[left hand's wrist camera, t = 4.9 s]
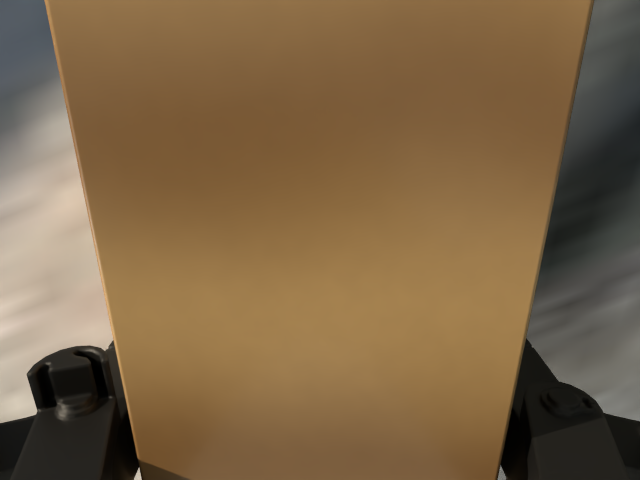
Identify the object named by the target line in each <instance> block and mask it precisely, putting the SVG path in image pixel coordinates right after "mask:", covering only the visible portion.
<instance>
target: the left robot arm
mask: <svg viewBox="0 0 640 480" xmlns="http://www.w3.org/2000/svg"><path fill="white" fill-rule="evenodd" d="M27 377H28V380H29V384H30V387H31V391H32V394H33V397H34V401H35V404H36V407H37V414H36V415H34V416H30V417H27V418H22V419H18V420H13V421H9V422H4V423H0V480H134V477H135V475H136V473H137V470H138V468H139V463H138V458H137V453H136V448H135V443H134V438H133V433H132V428H131V423H130V418H129V413H128V408H127V403H126V399H125V394H124V389H123V384H122V379H121V374H120V369H119V364H118V359H117V354H116V349H115V344H114V340H113V341H112V343H111V344H110V345H109V348H108V349H106V351H104V350H103V349H101V348H98V347H94V346H75V347H71V348H67V349H63V350H60V351H57V352H55V353H53V354H51V355H48V356H46V357H45V358H43V359H42V360H40V361H39V362H37V363H36V364H34V365H33V367H32V368H31V369H30V370H29V372H28V373H27ZM501 467H502V469H503V471H504V473H505V475H506V480H640V421H635V420H631V419H626V418H622V417H617V416H613V415H609V414H606V413H603V411H602V409H601V408H600V406H599V405H598V403H597V402H596V401H595V400H594V399H593V398H592V397H590V396H589V395H588V394H587V393H585V392H584V391H582V390H580V389H578V388H576V387H574V386H572V385H570V384H566V383H562V382H559V381H558V380H557V379H556V377H555V376H554V375H553V373H552V372H551V371H550V369H549V368H548V367H547V365H546V364H545V363H544V361H543V360H542V359H541V357H540V356H539V354H538V353H537V352H536V350H535V349H534V348H532V347H531V344H530V342H529V341H528V340H527V338H526V340H525V345H524V350H523V355H522V360H521V365H520V370H519V375H518V380H517V385H516V390H515V395H514V400H513V405H512V410H511V415H510V420H509V425H508V429H507V434H506V439H505V444H504V449H503V454H502V459H501Z"/></svg>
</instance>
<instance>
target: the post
mask: <svg viewBox="0 0 640 480" xmlns="http://www.w3.org/2000/svg"><path fill="white" fill-rule="evenodd" d="M45 4H46V9H47V14H48V19H49V24H50V29H51V34H52V39H53V44H54V49H55V54H56V59H57V63H58V68H59V73H60V78H61V83H62V88H63V93H64V98H65V103H66V108H67V113H68V118H69V123H70V128H71V132H72V137H73V142H74V147H75V152H76V157H77V162H78V167H79V172H80V177H81V182H82V187H83V192H84V197H85V201H86V206H87V211H88V216H89V221H90V226H91V231H92V236H93V241H94V246H95V251H96V256H97V261H98V265H99V270H100V275H101V280H102V285H103V290H104V295H105V300H106V305H107V310H108V315H109V320H110V325H111V330H112V334H113V339H114V344H115V349H116V354H117V359H118V364H119V369H120V374H121V379H122V384H123V389H124V394H125V399H126V403H127V408H128V413H129V418H130V423H131V428H132V433H133V438H134V443H135V448H136V453H137V458H138V463H139V468H140V472H141V477H142V480H497V479H498V474H499V469H500V464H501V459H502V454H503V449H504V444H505V439H506V434H507V429H508V425H509V420H510V415H511V410H512V405H513V400H514V395H515V390H516V385H517V380H518V375H519V370H520V365H521V360H522V355H523V350H524V345H525V340H526V336H527V331H528V326H529V321H530V316H531V311H532V306H533V301H534V296H535V291H536V286H537V281H538V276H539V271H540V266H541V261H542V256H543V251H544V247H545V242H546V237H547V232H548V227H549V222H550V217H551V212H552V207H553V202H554V197H555V192H556V187H557V182H558V177H559V172H560V167H561V162H562V157H563V153H564V148H565V143H566V138H567V133H568V128H569V123H570V118H571V113H572V108H573V103H574V98H575V93H576V88H577V83H578V78H579V73H580V68H581V64H582V59H583V54H584V49H585V44H586V39H587V34H588V29H589V24H590V19H591V14H592V9H593V4H594V0H45Z"/></svg>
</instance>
